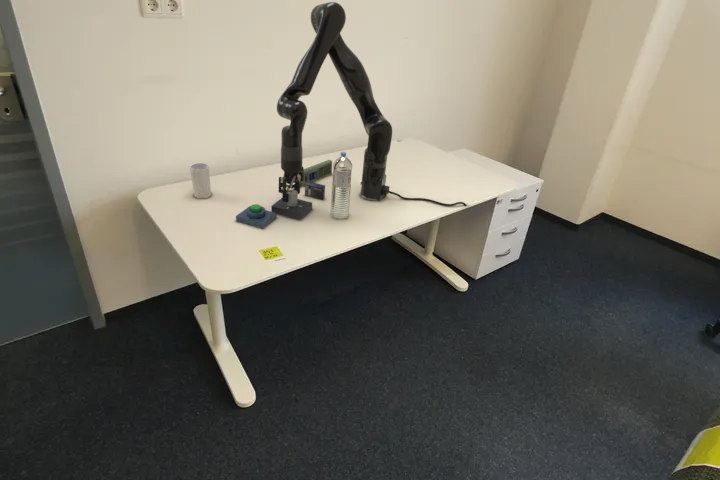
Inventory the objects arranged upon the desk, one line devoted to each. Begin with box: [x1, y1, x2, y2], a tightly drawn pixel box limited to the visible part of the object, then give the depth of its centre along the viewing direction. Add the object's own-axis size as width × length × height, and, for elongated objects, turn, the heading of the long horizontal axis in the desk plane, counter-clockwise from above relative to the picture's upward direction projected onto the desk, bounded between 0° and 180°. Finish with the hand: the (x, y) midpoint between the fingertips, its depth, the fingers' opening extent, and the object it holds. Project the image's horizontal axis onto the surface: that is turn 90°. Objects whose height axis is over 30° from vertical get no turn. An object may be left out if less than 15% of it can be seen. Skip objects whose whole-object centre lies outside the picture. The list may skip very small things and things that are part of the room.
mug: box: [189, 162, 212, 199], centre depth 165 cm, size 10×7×12 cm, turn 46°
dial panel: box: [270, 197, 313, 221], centre depth 161 cm, size 12×10×3 cm
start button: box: [250, 203, 262, 213], centre depth 152 cm, size 4×4×2 cm
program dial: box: [287, 189, 299, 207], centre depth 159 cm, size 4×4×5 cm
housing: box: [235, 205, 277, 230], centre depth 153 cm, size 11×9×4 cm
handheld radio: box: [290, 159, 333, 190], centre depth 184 cm, size 7×3×25 cm
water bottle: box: [330, 151, 353, 220], centre depth 156 cm, size 7×7×25 cm
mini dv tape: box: [304, 181, 326, 201], centre depth 172 cm, size 8×2×6 cm, turn 68°
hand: (291, 197), depth 159 cm, fingers open, 8 cm apart
